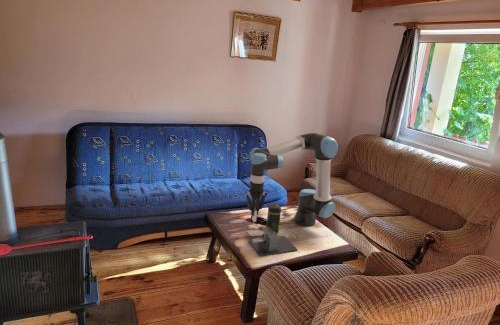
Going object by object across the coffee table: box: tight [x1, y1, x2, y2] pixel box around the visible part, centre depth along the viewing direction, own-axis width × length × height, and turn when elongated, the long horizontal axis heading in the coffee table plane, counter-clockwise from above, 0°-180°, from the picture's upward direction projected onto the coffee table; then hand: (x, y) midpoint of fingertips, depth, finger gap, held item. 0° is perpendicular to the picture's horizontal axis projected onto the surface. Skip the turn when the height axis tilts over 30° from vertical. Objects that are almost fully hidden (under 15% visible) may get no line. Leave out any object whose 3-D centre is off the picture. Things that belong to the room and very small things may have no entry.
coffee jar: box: [265, 202, 282, 235], centre depth 226 cm, size 10×8×19 cm
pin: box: [251, 231, 280, 244], centre depth 207 cm, size 15×6×6 cm, turn 113°
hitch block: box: [248, 226, 298, 258], centre depth 209 cm, size 24×17×12 cm
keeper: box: [247, 229, 265, 237], centre depth 203 cm, size 10×6×1 cm, turn 113°
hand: (254, 220), depth 200 cm, fingers closed
